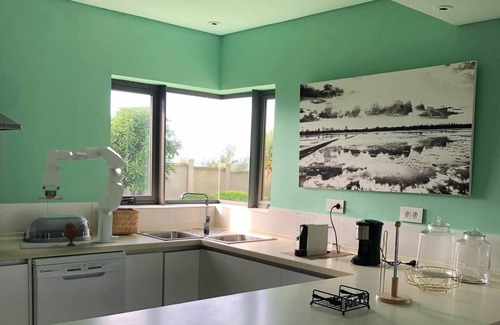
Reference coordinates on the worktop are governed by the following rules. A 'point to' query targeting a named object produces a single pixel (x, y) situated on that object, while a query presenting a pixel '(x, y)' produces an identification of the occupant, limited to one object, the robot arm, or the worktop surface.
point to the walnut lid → (50, 195)
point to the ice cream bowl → (71, 233)
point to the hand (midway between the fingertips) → (50, 196)
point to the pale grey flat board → (38, 245)
